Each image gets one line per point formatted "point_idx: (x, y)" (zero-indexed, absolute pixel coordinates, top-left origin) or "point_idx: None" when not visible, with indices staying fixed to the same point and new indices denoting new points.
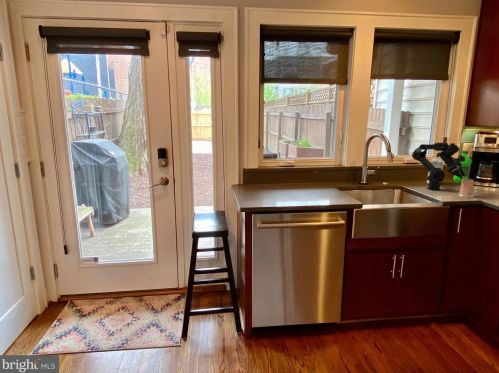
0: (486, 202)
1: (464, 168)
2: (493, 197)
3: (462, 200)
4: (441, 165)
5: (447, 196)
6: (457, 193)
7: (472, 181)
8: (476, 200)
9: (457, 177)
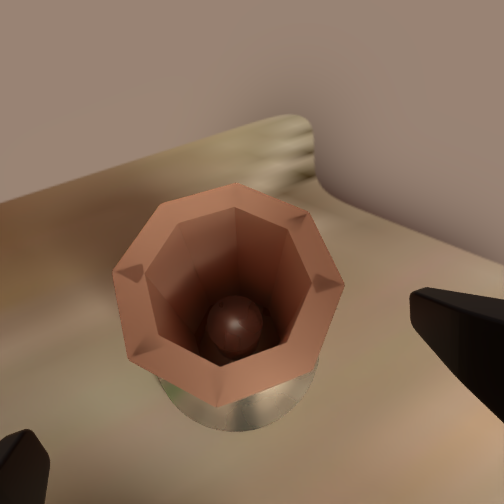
0: (300, 148)
1: None
2: (59, 190)
3: (443, 255)
4: None
5: (468, 420)
6: (269, 417)
7: (255, 196)
8: (315, 204)
9: None
